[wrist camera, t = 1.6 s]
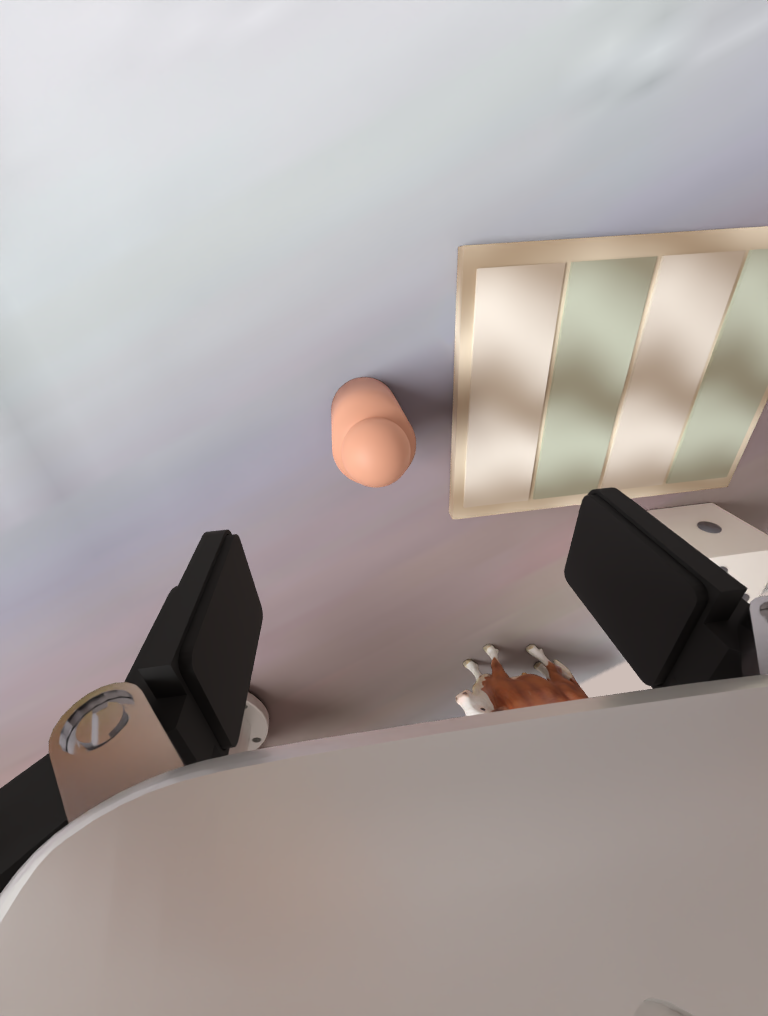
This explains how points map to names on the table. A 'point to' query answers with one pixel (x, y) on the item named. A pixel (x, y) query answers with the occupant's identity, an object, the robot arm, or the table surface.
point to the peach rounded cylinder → (370, 433)
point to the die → (722, 542)
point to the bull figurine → (518, 686)
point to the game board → (606, 366)
